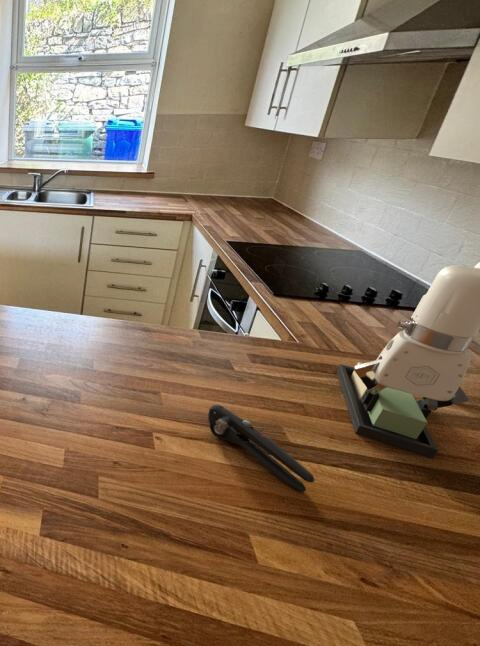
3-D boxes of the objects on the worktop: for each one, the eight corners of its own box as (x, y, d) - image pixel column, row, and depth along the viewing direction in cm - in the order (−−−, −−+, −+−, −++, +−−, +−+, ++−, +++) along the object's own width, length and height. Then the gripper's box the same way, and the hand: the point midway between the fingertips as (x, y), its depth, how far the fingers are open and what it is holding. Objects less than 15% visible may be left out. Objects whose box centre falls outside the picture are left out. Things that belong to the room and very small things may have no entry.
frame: (397, 387, 89) (401, 380, 88) (432, 458, 71) (438, 450, 71) (336, 370, 94) (339, 363, 94) (355, 433, 77) (359, 425, 76)
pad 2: (401, 407, 81) (411, 392, 79) (416, 439, 73) (427, 422, 71) (362, 396, 84) (370, 381, 82) (372, 425, 76) (382, 409, 74)
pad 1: (386, 385, 89) (394, 371, 87) (398, 412, 81) (407, 396, 80) (350, 376, 92) (358, 361, 90) (359, 400, 84) (367, 385, 83)
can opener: (194, 425, 78) (202, 403, 75) (219, 416, 80) (227, 394, 78) (291, 502, 63) (304, 477, 61) (318, 487, 66) (331, 463, 63)
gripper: (376, 329, 72) (335, 407, 79) (522, 362, 63) (459, 446, 71) (367, 313, 77) (329, 387, 85) (500, 341, 69) (444, 420, 77)
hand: (389, 413), depth 78 cm, fingers closed on pad 2, 6 cm apart
